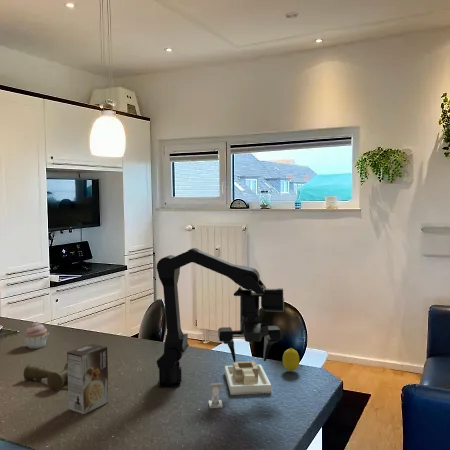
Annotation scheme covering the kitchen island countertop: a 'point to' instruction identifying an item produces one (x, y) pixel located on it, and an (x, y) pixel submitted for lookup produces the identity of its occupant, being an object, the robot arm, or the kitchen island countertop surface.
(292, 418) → the kitchen island countertop surface
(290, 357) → the lemon
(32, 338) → the cupcake
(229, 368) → the tray
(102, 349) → the food box
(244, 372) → the birch collar
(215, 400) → the t stake
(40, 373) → the olive brown dumbbell-shaped piece
